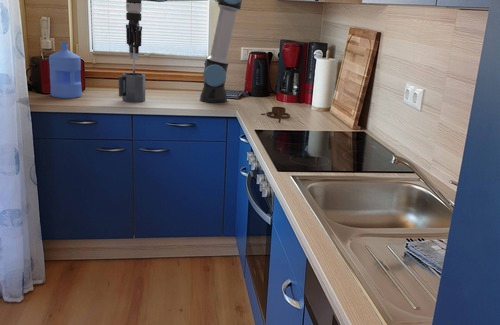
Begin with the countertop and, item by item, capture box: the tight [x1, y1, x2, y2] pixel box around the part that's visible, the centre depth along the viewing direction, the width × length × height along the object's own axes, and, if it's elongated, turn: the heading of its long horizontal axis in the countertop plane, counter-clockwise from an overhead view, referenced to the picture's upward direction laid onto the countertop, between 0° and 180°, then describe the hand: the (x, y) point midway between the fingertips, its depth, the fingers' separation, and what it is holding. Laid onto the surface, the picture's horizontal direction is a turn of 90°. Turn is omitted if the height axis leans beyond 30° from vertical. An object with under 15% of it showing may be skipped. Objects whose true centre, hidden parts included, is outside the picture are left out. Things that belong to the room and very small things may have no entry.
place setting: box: [260, 106, 291, 123], centre depth 253 cm, size 18×20×6 cm
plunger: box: [130, 44, 136, 76], centre depth 264 cm, size 8×8×20 cm
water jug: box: [48, 41, 83, 99], centre depth 266 cm, size 16×16×28 cm
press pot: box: [118, 72, 146, 104], centre depth 267 cm, size 14×11×14 cm
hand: (133, 59), depth 264 cm, fingers closed on plunger, 4 cm apart
